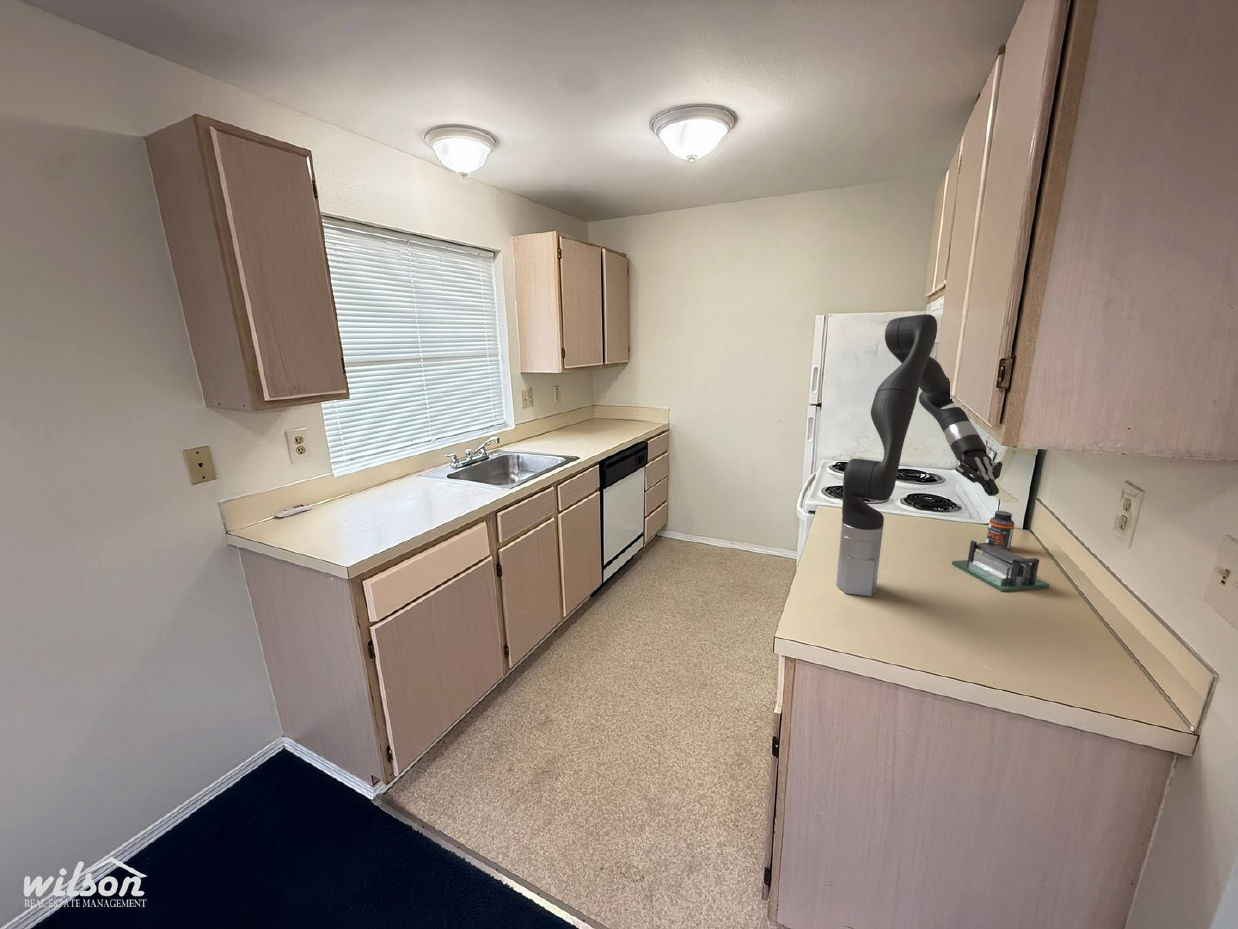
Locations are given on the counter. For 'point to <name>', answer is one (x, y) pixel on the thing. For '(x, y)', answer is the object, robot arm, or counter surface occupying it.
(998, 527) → the supplement bottle
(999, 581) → the heatsink
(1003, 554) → the retention strap
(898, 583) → the counter surface
